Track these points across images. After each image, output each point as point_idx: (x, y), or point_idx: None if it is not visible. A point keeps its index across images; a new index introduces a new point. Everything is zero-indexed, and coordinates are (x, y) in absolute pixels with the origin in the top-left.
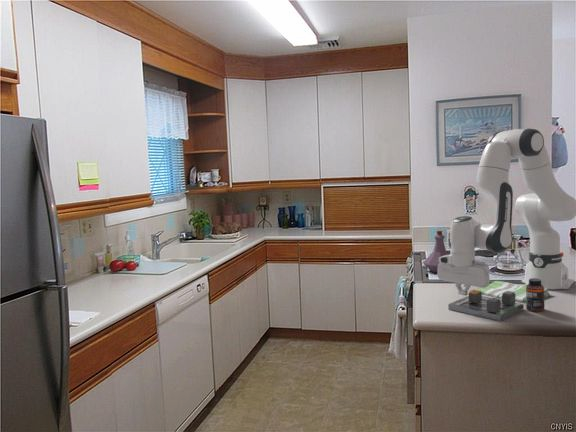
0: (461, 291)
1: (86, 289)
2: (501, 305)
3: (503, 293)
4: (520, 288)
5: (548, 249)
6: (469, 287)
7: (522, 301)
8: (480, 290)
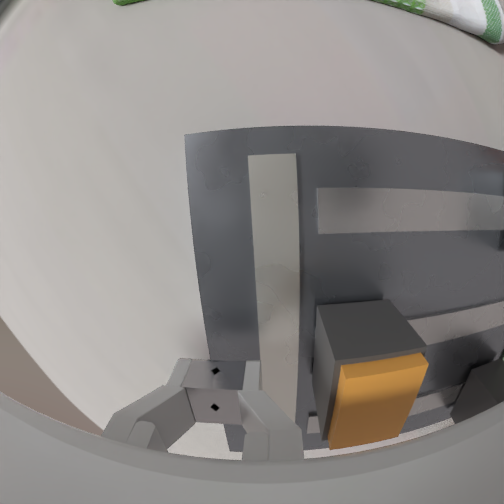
0: (216, 416)
1: None
2: (501, 275)
3: None
4: None
5: None
6: (291, 426)
7: (479, 35)
8: (424, 365)
